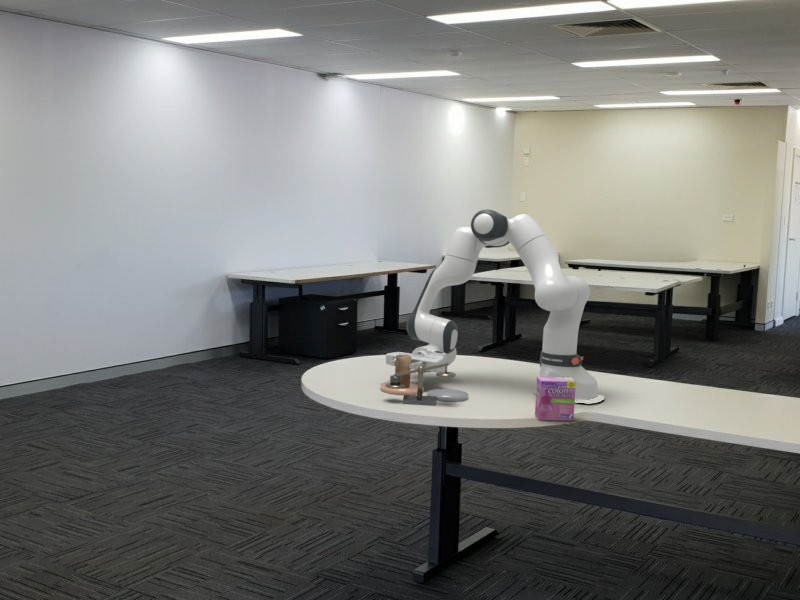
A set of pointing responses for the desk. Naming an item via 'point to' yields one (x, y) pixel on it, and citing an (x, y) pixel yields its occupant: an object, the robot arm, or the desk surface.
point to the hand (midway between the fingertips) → (401, 364)
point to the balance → (418, 398)
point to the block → (403, 368)
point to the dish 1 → (401, 390)
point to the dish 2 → (448, 395)
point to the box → (555, 398)
